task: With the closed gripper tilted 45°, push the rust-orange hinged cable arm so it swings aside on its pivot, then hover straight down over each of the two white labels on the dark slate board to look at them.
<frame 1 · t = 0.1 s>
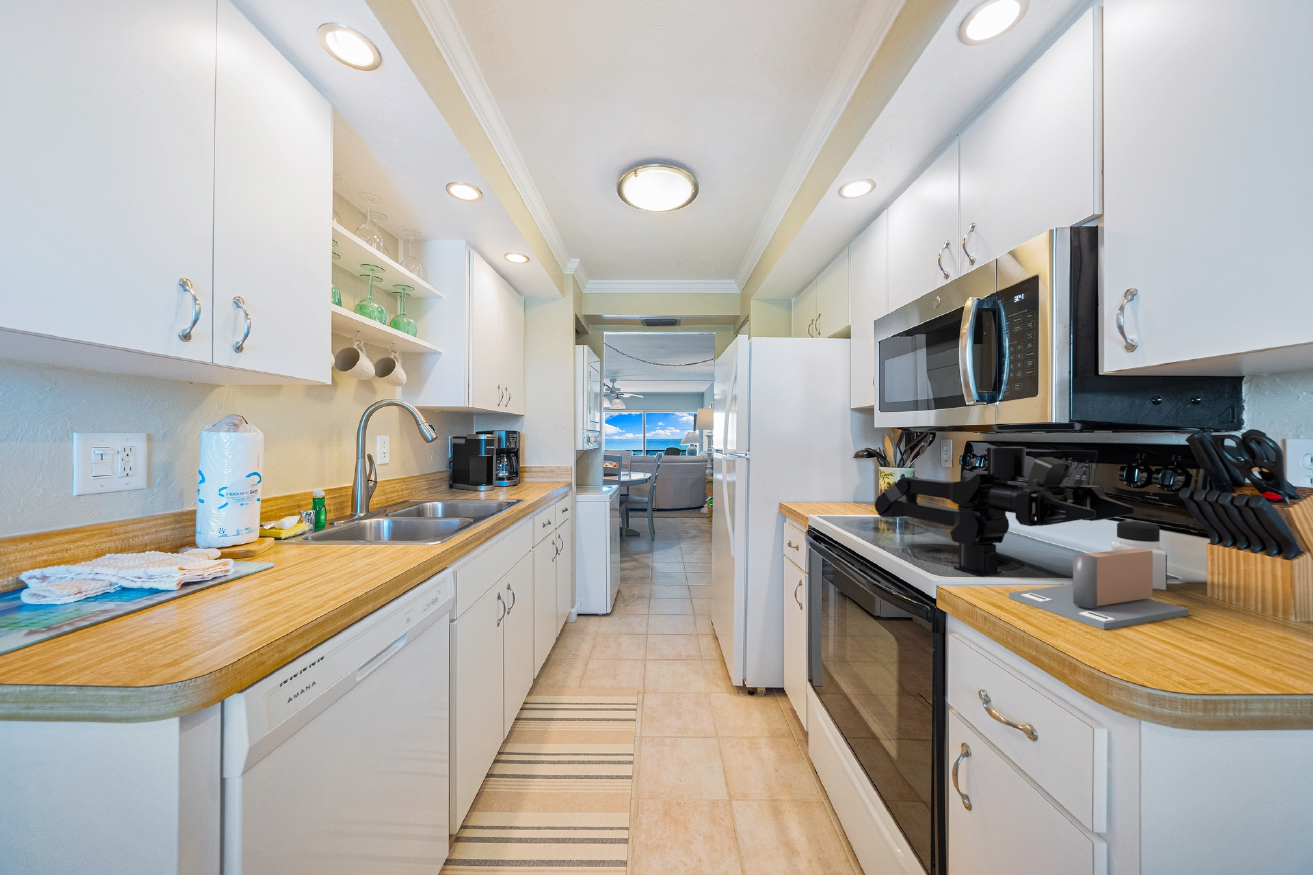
hand: (1114, 512, 83), 17 cm above the counter, tool horizontal, fingers open, 9 cm apart
label board: (1094, 606, 85), on the counter
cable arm: (1112, 576, 84), point 6 cm above the counter, hinge at 0.0°
medicine bottle: (1137, 583, 98), on the counter
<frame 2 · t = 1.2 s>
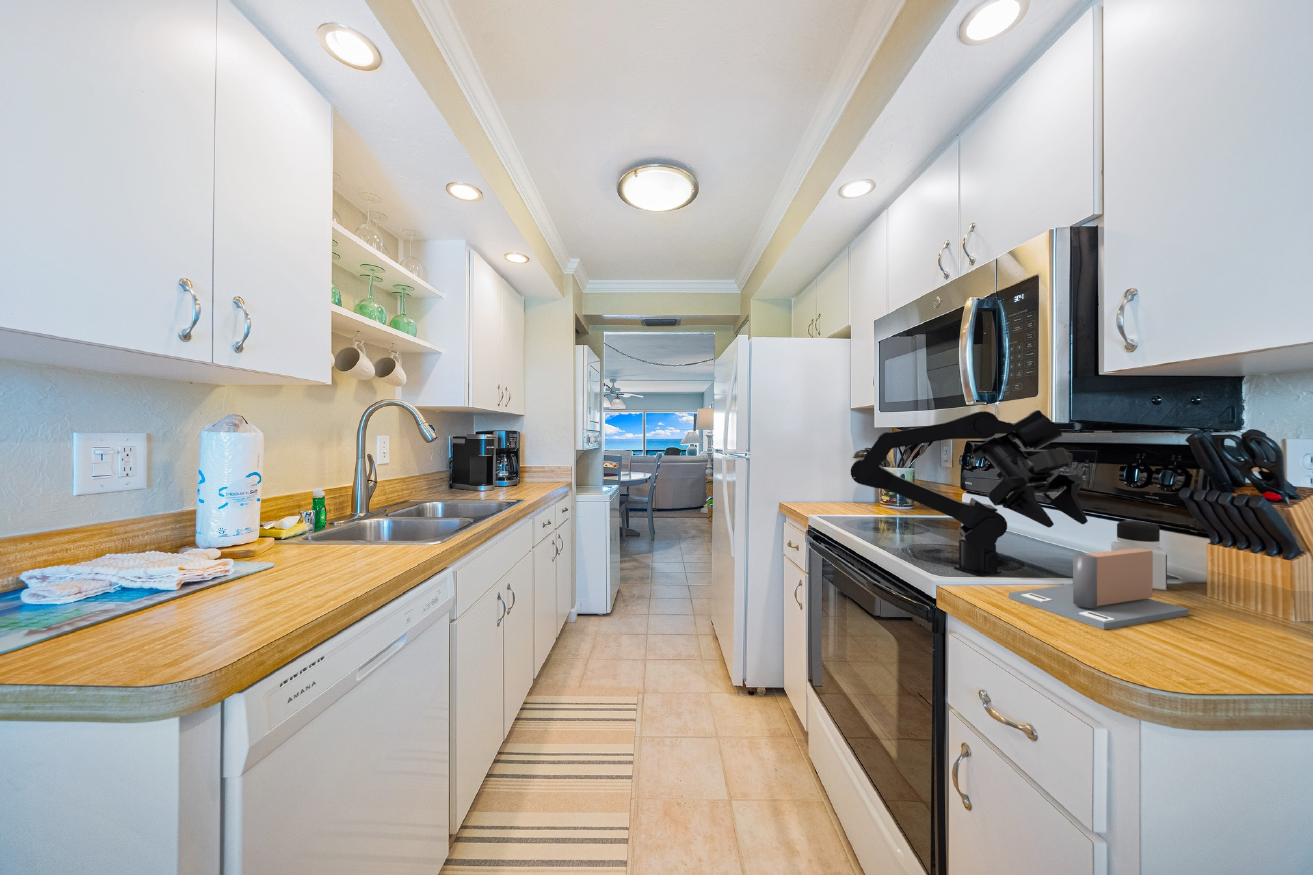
hand: (1068, 524, 92), 13 cm above the counter, tool tilted 45°, fingers open, 8 cm apart
nothing on the counter moved.
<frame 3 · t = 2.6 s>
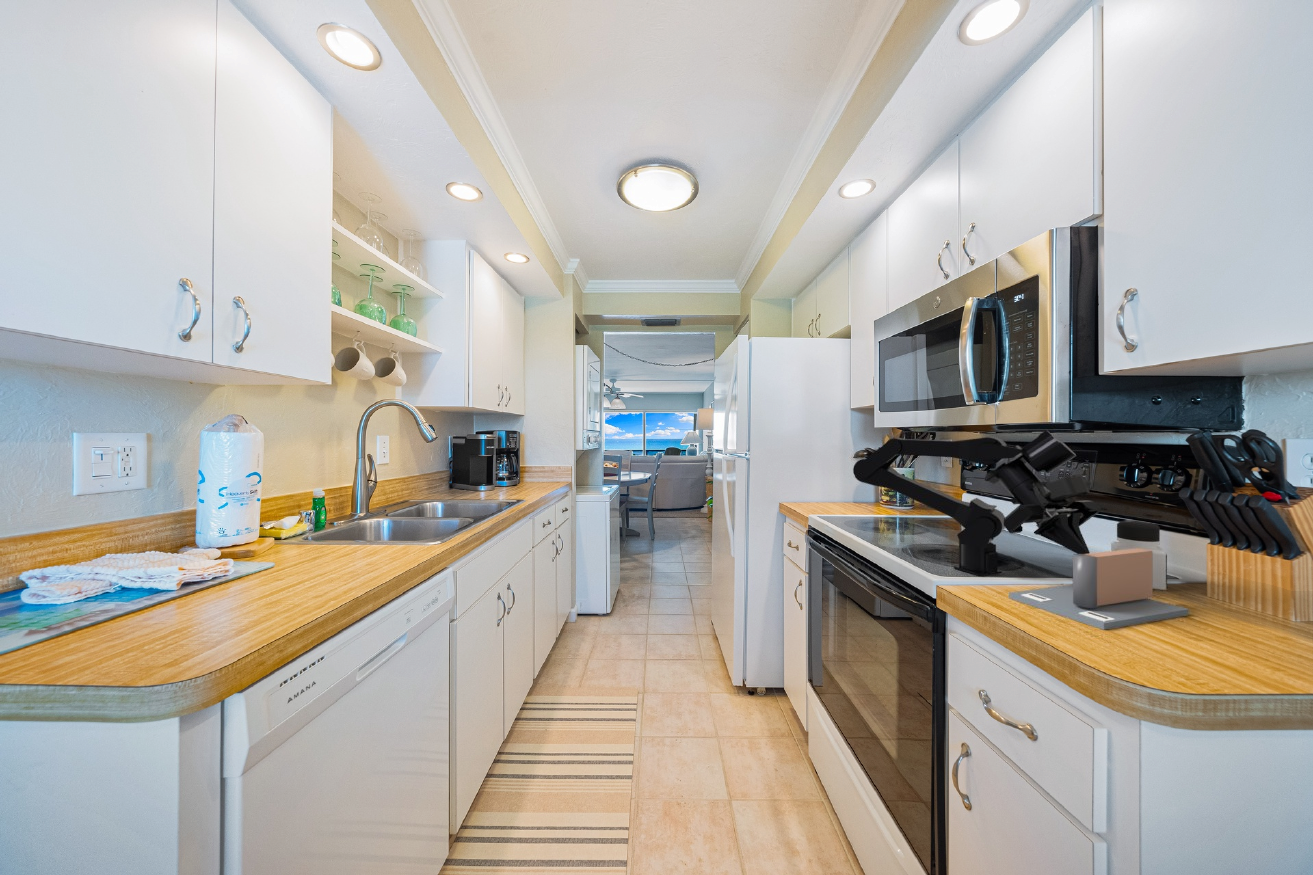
hand: (1086, 554, 90), 8 cm above the counter, tool tilted 45°, fingers closed
nothing on the counter moved.
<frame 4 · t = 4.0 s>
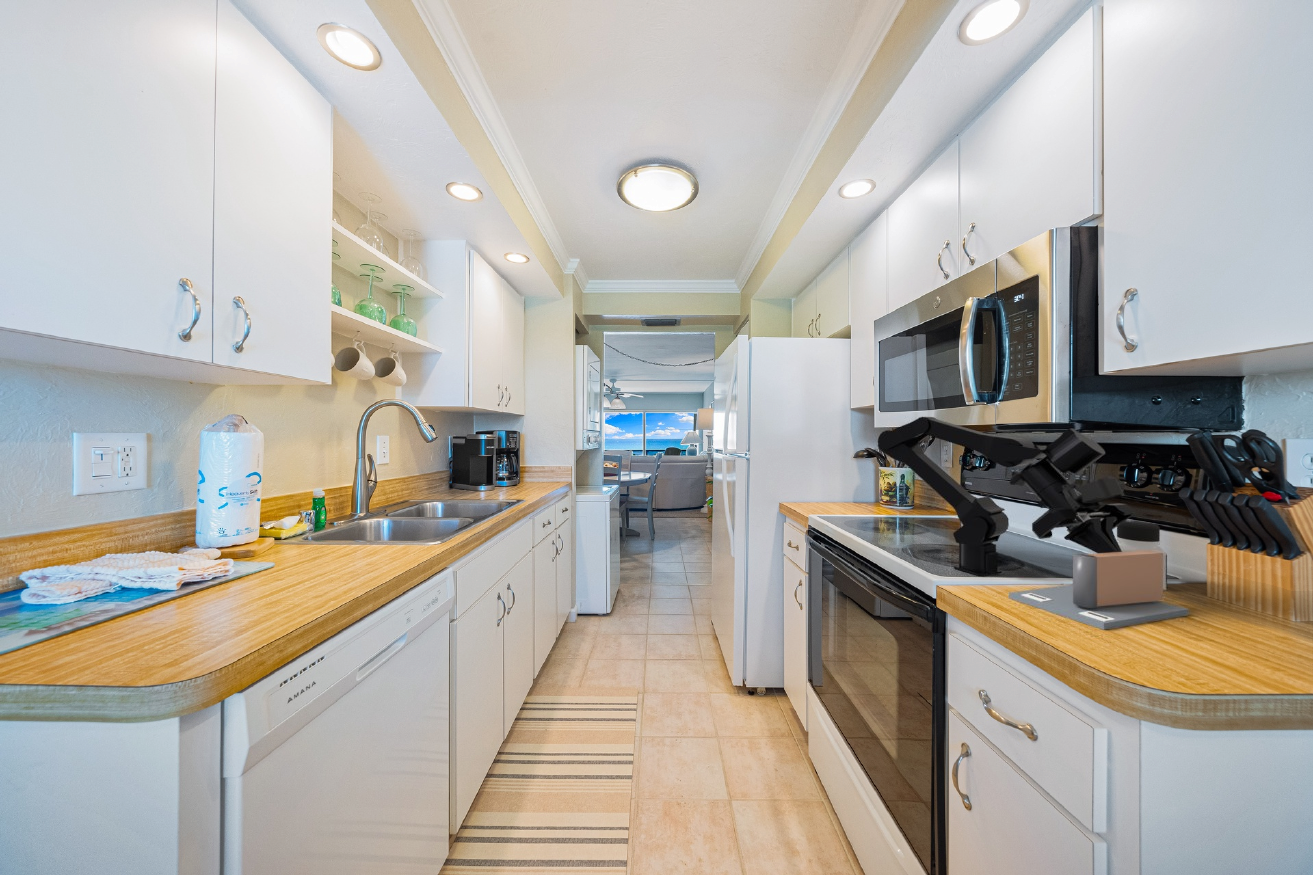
hand: (1121, 561, 85), 8 cm above the counter, tool tilted 45°, fingers closed, pressing on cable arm
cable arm: (1117, 577, 83), point 5 cm above the counter, hinge at 6.1°, touching gripper
everything else where it was.
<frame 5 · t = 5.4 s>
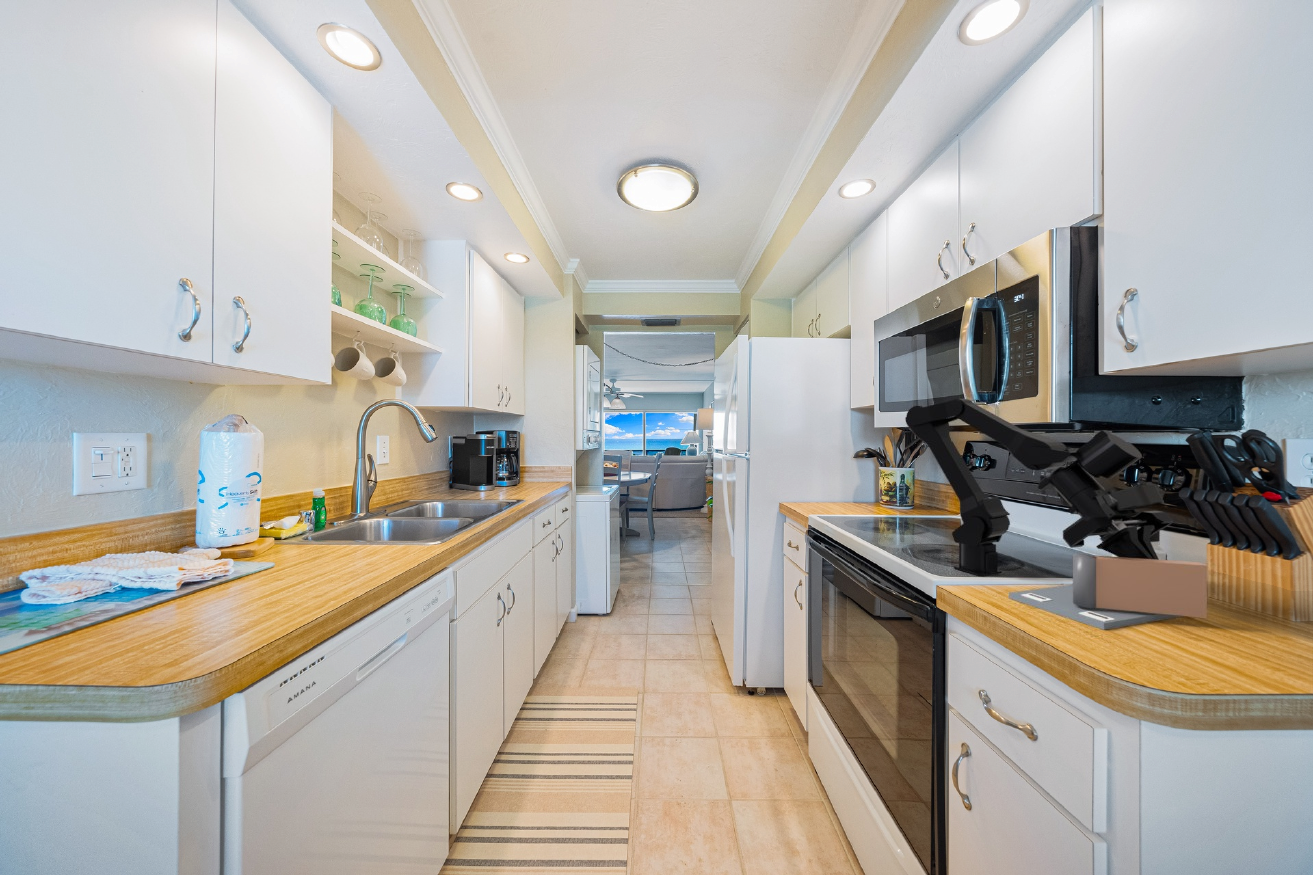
hand: (1160, 573, 80), 7 cm above the counter, tool tilted 45°, fingers closed
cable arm: (1135, 584, 80), point 6 cm above the counter, hinge at 37.7°, touching gripper
everything else where it was.
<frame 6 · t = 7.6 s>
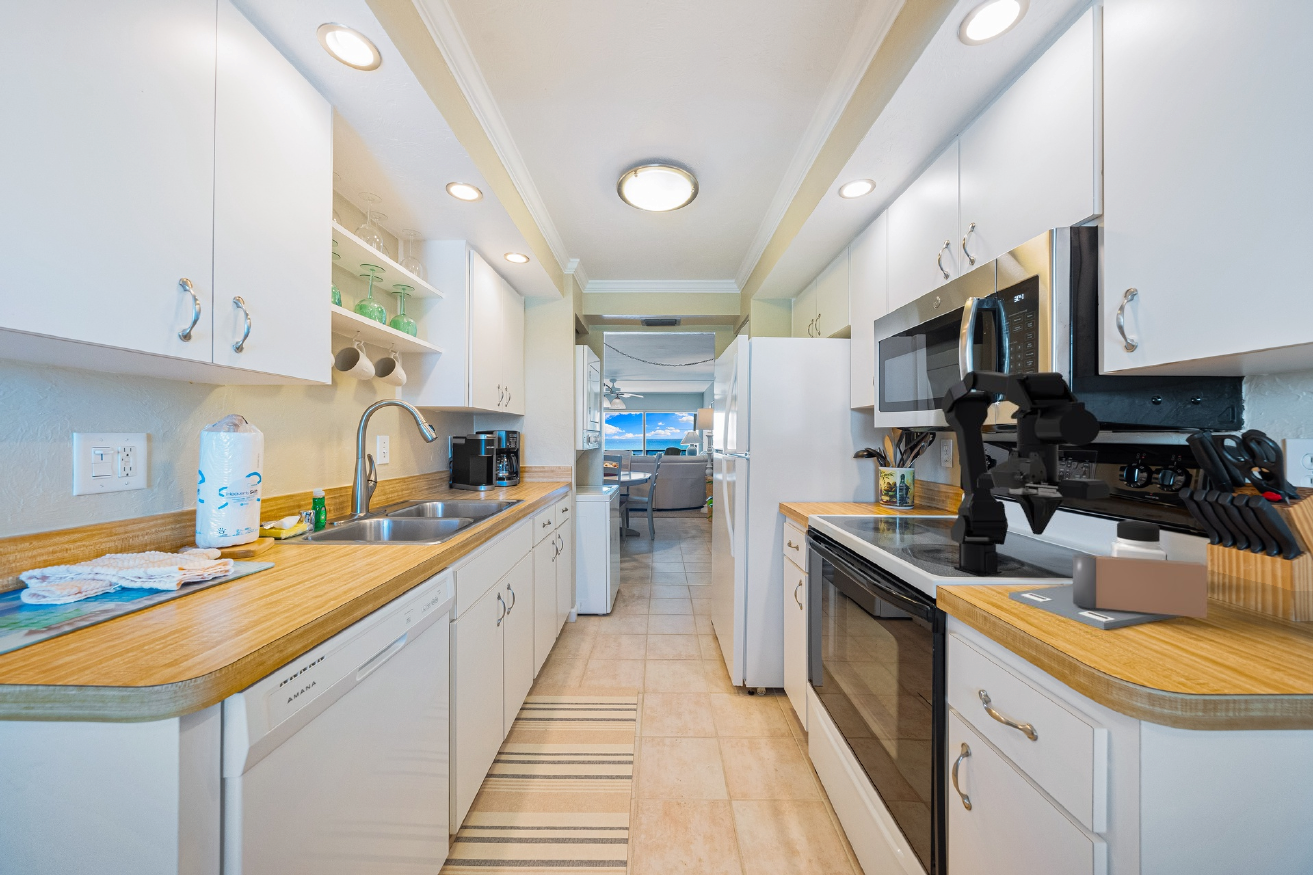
hand: (1037, 534, 87), 12 cm above the counter, tool pointing down, fingers closed
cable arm: (1135, 584, 80), point 6 cm above the counter, hinge at 37.8°
everything else where it was.
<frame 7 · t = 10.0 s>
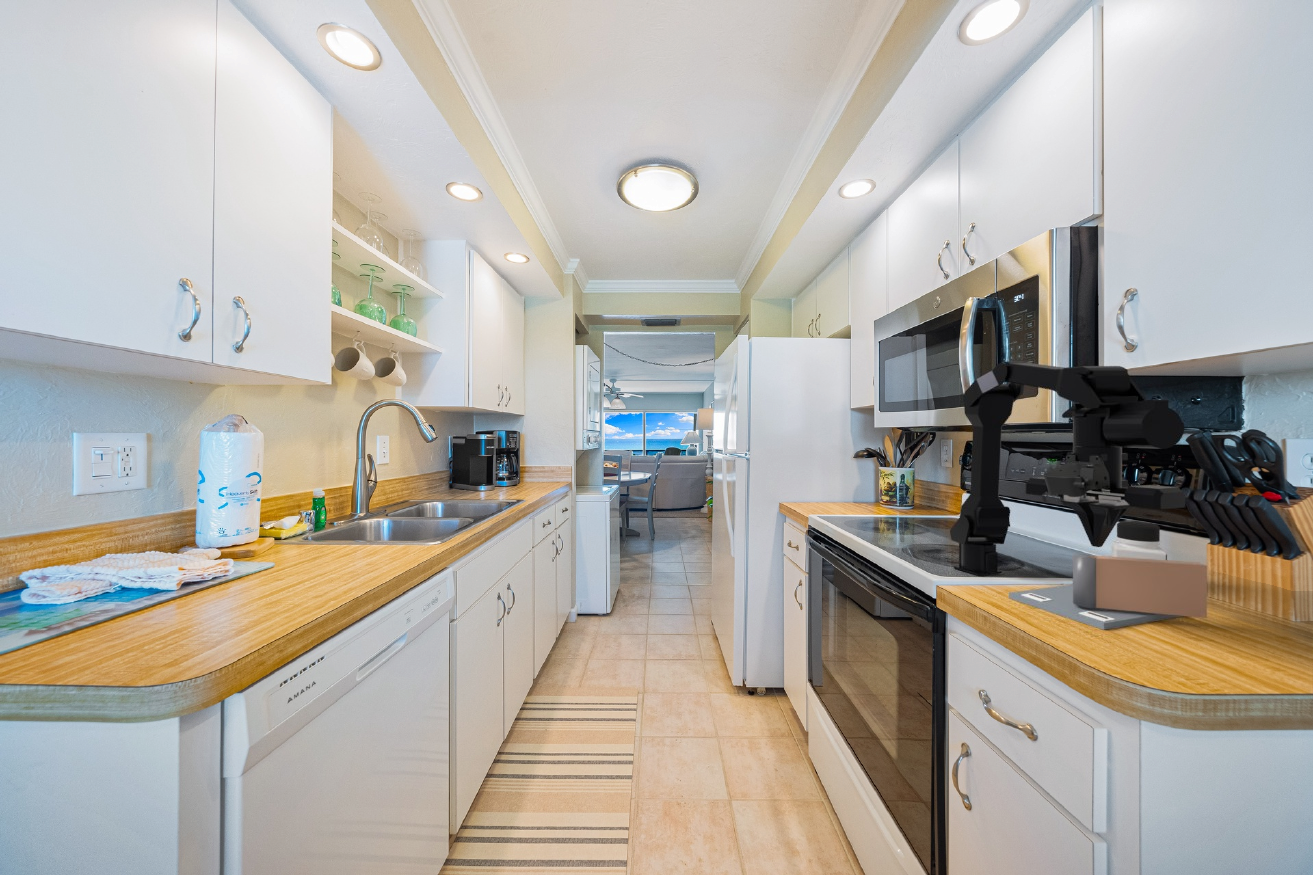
hand: (1096, 546, 78), 12 cm above the counter, tool pointing down, fingers closed
nothing on the counter moved.
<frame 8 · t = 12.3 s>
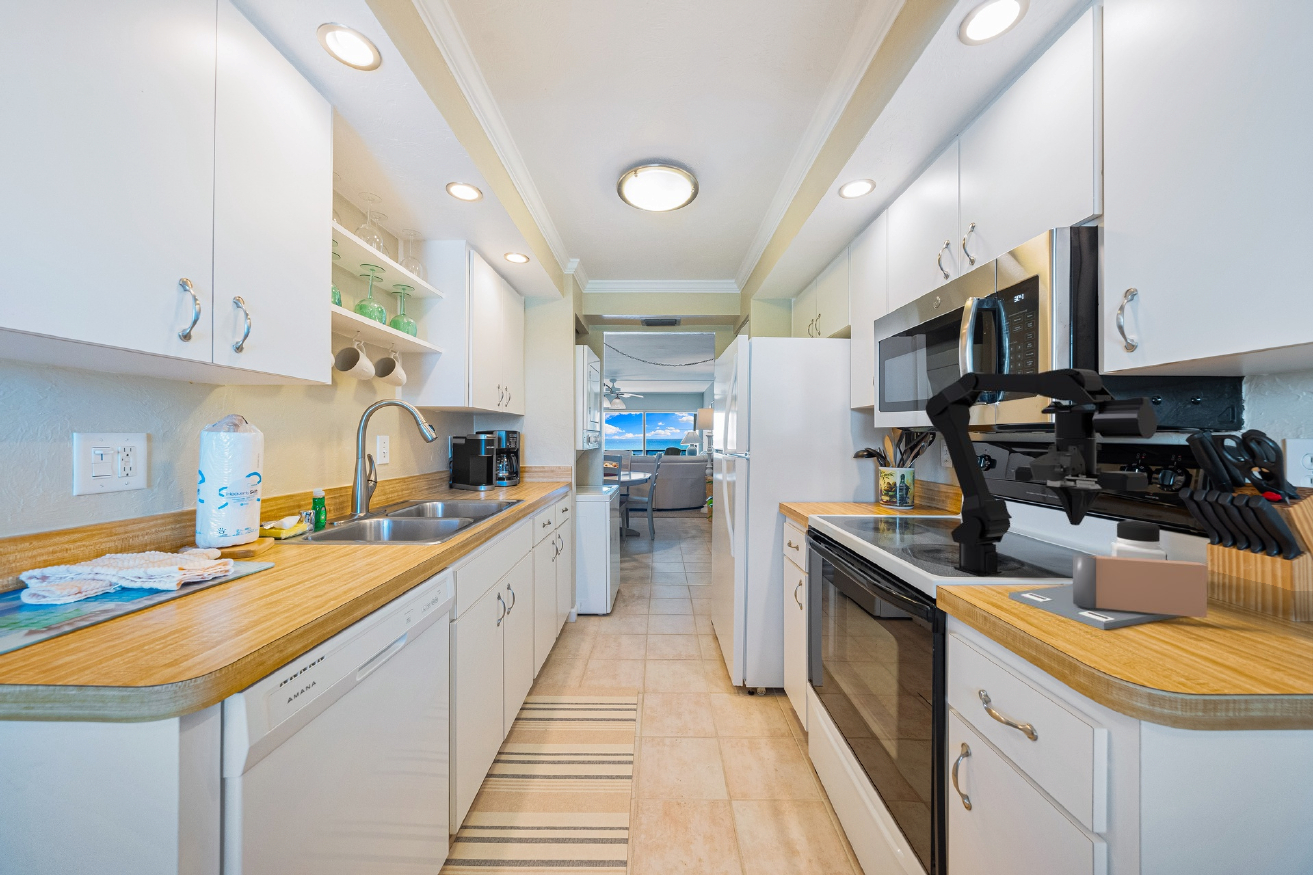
hand: (1075, 524, 90), 13 cm above the counter, tool pointing down, fingers closed
nothing on the counter moved.
at the end: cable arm at +38° (first picture: +0°) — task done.
